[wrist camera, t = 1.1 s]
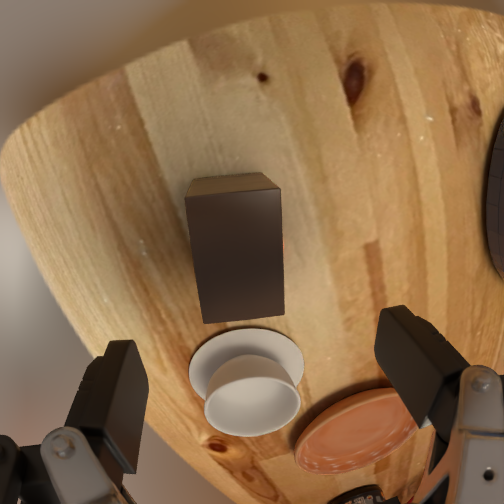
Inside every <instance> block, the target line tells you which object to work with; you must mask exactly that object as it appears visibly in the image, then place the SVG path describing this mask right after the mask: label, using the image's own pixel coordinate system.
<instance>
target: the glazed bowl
mask: <svg viewBox="0 0 504 504" xmlns="http://www.w3.org/2000/svg"><path fill="white" fill-rule="evenodd" d="M486 227H487V236H488V244H489V250H490V253H491V256H492V260H493V263H494V266H495V268H496V269H497V271H498V272H499V274H500V276H501V277H502V278H504V118H503V120H502V122H501V124H500V127H499V131H498V134H497V138H496V141H495V145H494V149H493V154H492V160H491V166H490V171H489V178H488V191H487V202H486Z"/></svg>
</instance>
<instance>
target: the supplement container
mask: <svg viewBox="0 0 504 504" xmlns="http://www.w3.org/2000/svg"><path fill="white" fill-rule="evenodd" d="M383 501H385V497H384V495H383V491H382V489H381V488H380V487H377V486H367V487H362V488H359V489H356V490H353V491H350V492H348V493H346V494H344V495H342V496H340V497H338V498H337V499H335V500H334V501H333V502H332V503H331V504H377V503H380V502H383Z"/></svg>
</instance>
